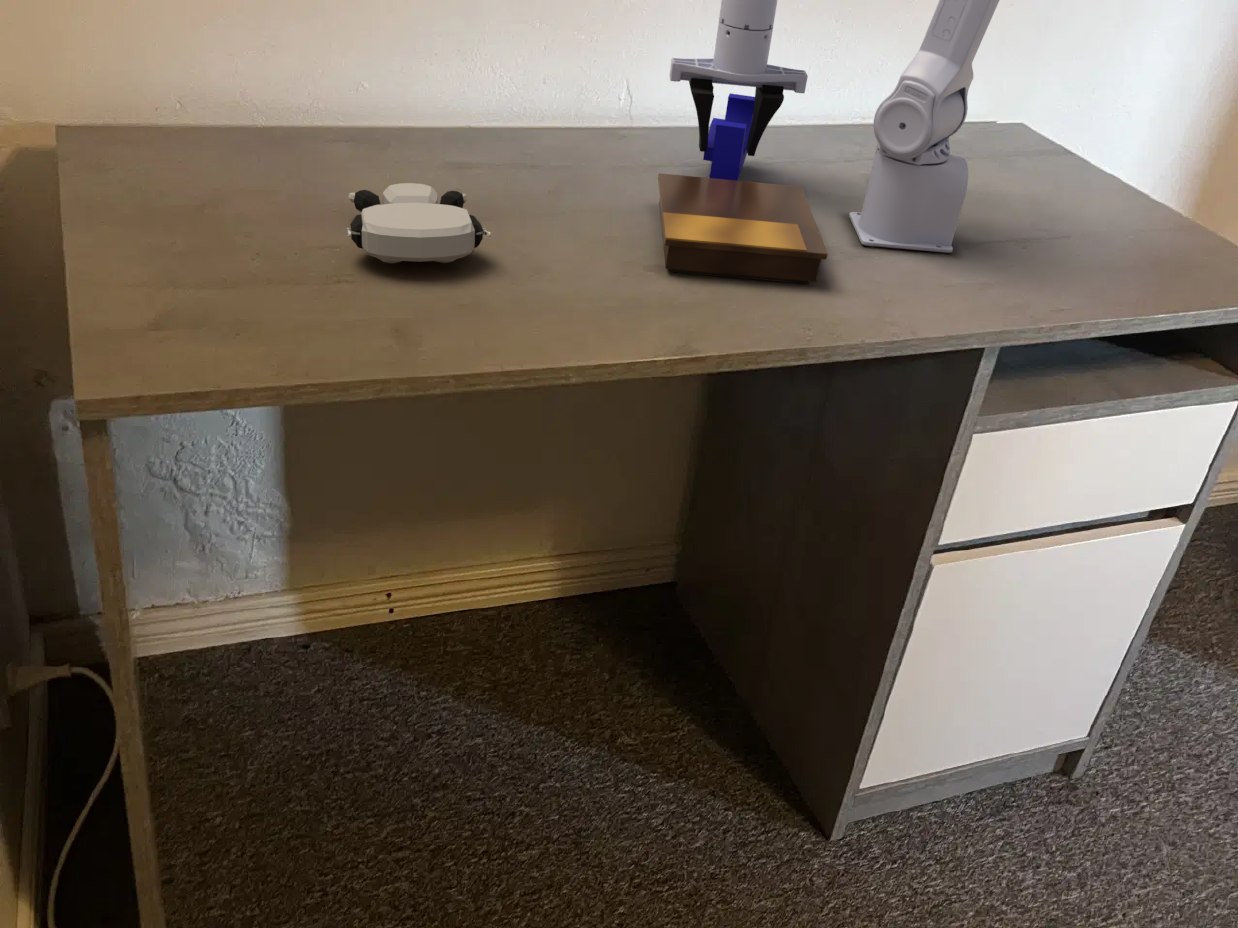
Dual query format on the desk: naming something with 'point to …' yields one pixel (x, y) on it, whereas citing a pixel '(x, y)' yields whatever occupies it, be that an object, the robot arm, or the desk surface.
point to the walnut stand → (738, 229)
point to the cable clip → (730, 138)
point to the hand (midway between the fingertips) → (726, 151)
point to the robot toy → (414, 224)
